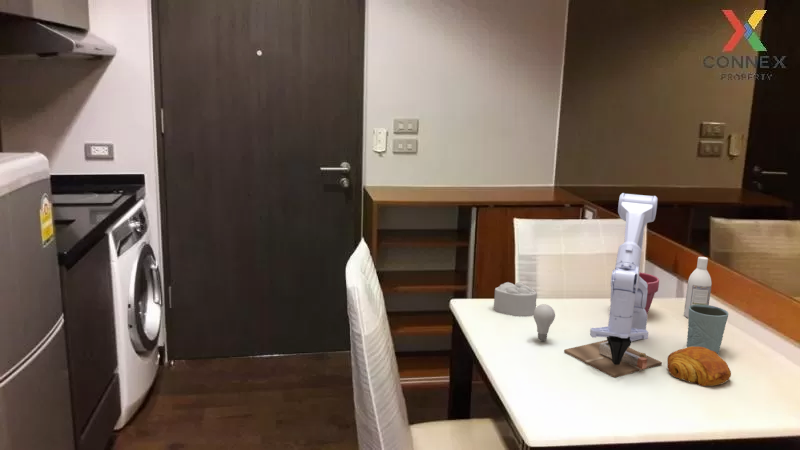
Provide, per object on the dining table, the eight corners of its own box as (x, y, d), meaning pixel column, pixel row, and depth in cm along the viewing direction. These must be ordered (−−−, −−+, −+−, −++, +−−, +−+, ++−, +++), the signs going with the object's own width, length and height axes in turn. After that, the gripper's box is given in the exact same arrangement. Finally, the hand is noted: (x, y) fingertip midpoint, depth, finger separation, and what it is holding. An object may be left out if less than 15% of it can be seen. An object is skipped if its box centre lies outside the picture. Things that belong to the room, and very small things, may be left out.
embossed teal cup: (678, 349, 190) (683, 309, 187) (691, 340, 197) (696, 301, 195) (715, 360, 183) (721, 318, 181) (727, 350, 190) (733, 310, 188)
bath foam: (711, 320, 215) (719, 260, 210) (692, 321, 213) (700, 260, 209) (697, 313, 221) (705, 254, 217) (679, 314, 220) (686, 255, 215)
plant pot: (617, 304, 228) (621, 267, 225) (660, 313, 220) (664, 276, 217) (603, 315, 216) (607, 277, 214) (647, 325, 208) (652, 286, 206)
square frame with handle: (598, 353, 182) (599, 343, 182) (611, 349, 185) (612, 339, 184) (638, 370, 172) (639, 360, 171) (650, 366, 175) (651, 356, 174)
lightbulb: (553, 346, 189) (556, 309, 187) (531, 343, 190) (533, 307, 188) (552, 338, 195) (555, 302, 193) (531, 336, 196) (534, 300, 194)
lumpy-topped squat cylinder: (502, 302, 225) (504, 278, 223) (539, 310, 219) (541, 284, 217) (490, 311, 216) (492, 285, 215) (529, 319, 210) (531, 293, 208)
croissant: (655, 376, 177) (655, 348, 175) (700, 360, 183) (700, 333, 181) (698, 398, 164) (698, 369, 162) (745, 381, 169) (745, 352, 168)
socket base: (610, 341, 194) (612, 324, 193) (663, 365, 178) (665, 347, 177) (562, 352, 185) (564, 334, 184) (614, 379, 169) (616, 359, 168)
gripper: (597, 318, 168) (592, 368, 171) (655, 320, 169) (648, 370, 172) (589, 309, 175) (585, 357, 178) (644, 310, 176) (639, 359, 178)
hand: (615, 363), depth 175 cm, fingers closed
